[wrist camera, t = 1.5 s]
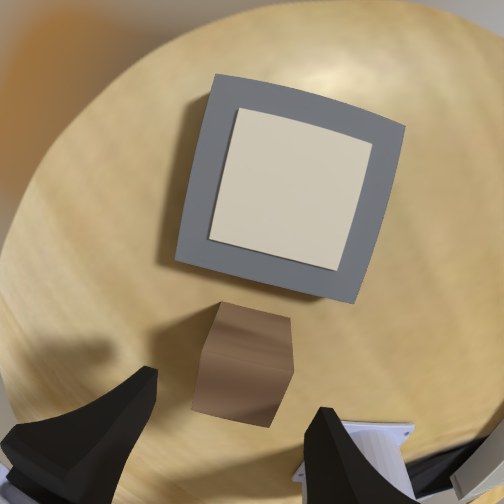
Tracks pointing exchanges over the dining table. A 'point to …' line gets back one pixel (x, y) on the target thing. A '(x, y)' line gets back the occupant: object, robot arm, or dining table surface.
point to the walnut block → (244, 366)
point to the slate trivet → (288, 188)
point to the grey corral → (482, 467)
